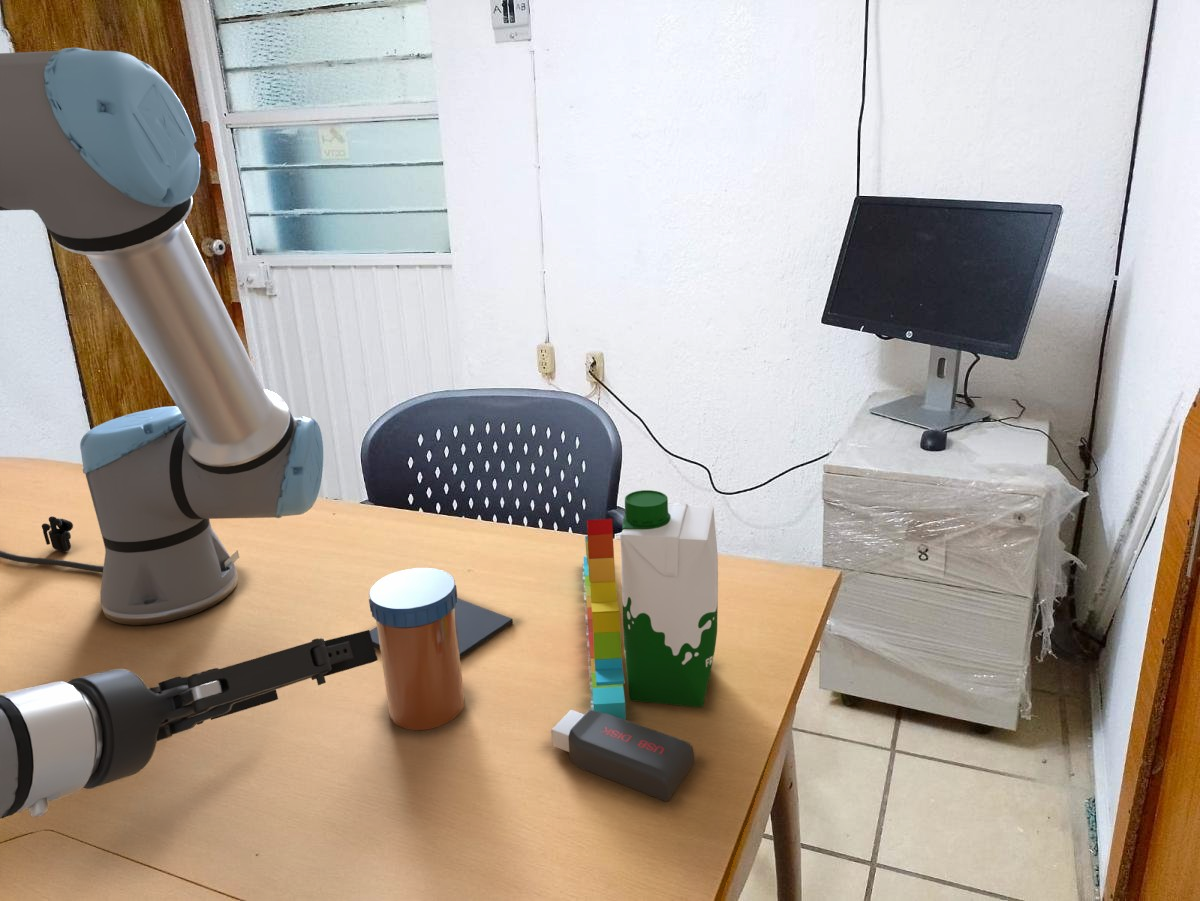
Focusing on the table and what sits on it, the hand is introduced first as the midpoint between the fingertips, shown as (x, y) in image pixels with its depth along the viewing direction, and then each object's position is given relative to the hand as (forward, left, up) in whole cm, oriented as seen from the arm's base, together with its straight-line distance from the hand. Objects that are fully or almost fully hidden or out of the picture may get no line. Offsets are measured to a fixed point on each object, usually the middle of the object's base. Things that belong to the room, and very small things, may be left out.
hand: (319, 666), depth 75 cm
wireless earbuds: (-66, +4, -8) cm, 67 cm away
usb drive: (+24, +12, -8) cm, 28 cm away
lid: (+4, +8, +5) cm, 10 cm away
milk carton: (+22, +24, -8) cm, 34 cm away
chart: (+11, +28, -8) cm, 31 cm away
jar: (+4, +8, -7) cm, 12 cm away
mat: (-5, +18, -7) cm, 20 cm away
